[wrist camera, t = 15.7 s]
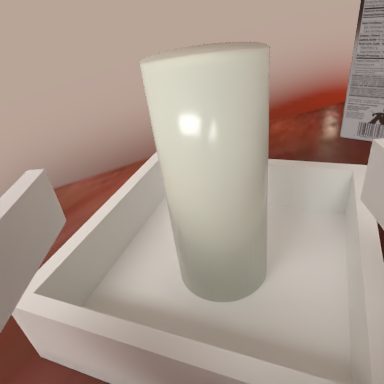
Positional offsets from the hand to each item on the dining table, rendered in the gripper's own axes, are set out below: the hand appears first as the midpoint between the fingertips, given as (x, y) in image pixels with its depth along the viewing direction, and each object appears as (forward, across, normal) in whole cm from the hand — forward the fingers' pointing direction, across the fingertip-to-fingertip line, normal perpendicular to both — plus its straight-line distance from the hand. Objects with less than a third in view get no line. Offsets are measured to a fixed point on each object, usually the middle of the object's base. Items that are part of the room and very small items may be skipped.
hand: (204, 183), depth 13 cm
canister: (+5, 0, -10) cm, 11 cm away
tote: (+5, 0, -11) cm, 12 cm away
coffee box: (+28, +21, -11) cm, 37 cm away
